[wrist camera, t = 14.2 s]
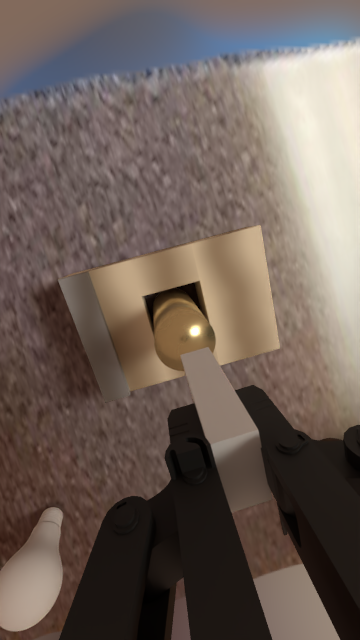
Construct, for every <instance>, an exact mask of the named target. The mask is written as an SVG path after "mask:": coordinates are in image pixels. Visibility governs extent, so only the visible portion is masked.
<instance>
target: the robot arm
mask: <svg viewBox="0 0 360 640" xmlns="http://www.w3.org/2000/svg"><path fill="white" fill-rule="evenodd" d="M180 356H181V360H182V363H183V367H184V370H185V374H186V378H187V381H188V385H189V389H190V392H191V396H192V399H193V403H194V404H190V405H187V406H183V407H180V408H177V409H173V410H171V412H170V415H169V417H168V427H169V435H170V443H171V444H170V445H169V447H168V448H167V450H166V453H165V461H166V464H167V467H168V470H169V473H170V476H171V480H170V482H169V484H168V485H167V486H166V487H165V488H164V490H162V491H161V492H160V493H158V494H157V495H156V496H154V497H152V498H151V499H149V500H148V501H146V500H145V499H143V498H142V497H138V496H131V497H127V498H124V499H122V500H120V501H119V502H117V503H116V504H115V505H114V506H113V507H112V508H111V509H110V510H109V511H108V512H107V514H106V516H105V518H104V520H103V521H102V524H101V527H100V530H99V532H98V535H97V538H96V540H95V543H94V546H93V549H92V551H91V554H90V557H89V559H88V562H87V565H86V568H85V570H84V573H83V576H82V578H81V581H80V584H79V587H78V589H77V592H76V595H75V597H74V600H73V603H72V606H71V608H70V611H69V614H68V616H67V619H66V622H65V625H64V627H63V630H62V633H61V636H60V638H59V640H171V634H172V624H173V623H172V622H173V613H174V603H175V593H176V583H177V582H178V581H179V580H180V579H181V578H183V577H184V585H185V594H186V601H187V611H188V619H189V627H190V636H191V640H272V637H271V634H270V631H269V628H268V625H267V622H266V619H265V616H264V612H263V609H262V606H261V603H260V600H259V597H258V594H257V591H256V588H255V585H254V581H253V578H252V575H251V572H250V569H249V566H248V563H247V560H246V557H245V553H244V550H243V547H242V544H241V541H240V538H239V535H238V532H237V529H236V526H235V522H234V519H233V516H232V512H235V511H239V510H242V509H245V508H248V507H251V506H254V505H258V504H261V503H264V502H267V501H270V500H272V495H271V491H272V493H273V495H274V497H275V499H276V501H277V505H278V510H279V515H280V520H281V525H282V530H283V533H284V535H287V531H288V534H289V536H290V538H291V540H292V542H293V544H294V546H295V548H296V550H297V552H298V554H299V556H300V558H301V560H302V562H303V564H304V566H305V568H306V570H307V572H308V574H309V576H310V579H311V580H312V582H313V585H314V587H315V589H316V591H317V593H318V595H319V597H320V599H321V601H322V603H323V605H324V607H325V609H326V611H327V613H328V615H329V617H330V619H331V621H332V624H333V625H334V628H335V629H336V632H337V634H338V636H339V638H340V640H360V425H356V426H354V427H351V428H349V429H348V430H347V431H346V432H345V433H344V438H343V440H341V441H317V440H312V439H311V438H310V437H309V436H307V435H306V434H305V433H303V432H301V431H298V430H295V429H294V428H293V427H292V426H291V425H290V423H289V422H288V421H287V420H286V418H285V417H284V416H283V415H282V413H281V412H280V411H279V410H278V408H277V407H276V406H275V405H274V403H273V402H272V401H271V400H270V399H269V397H268V396H267V395H266V393H265V392H264V391H263V390H262V389H260V388H258V387H256V386H254V385H251V386H248V387H245V388H241V389H238V390H234V389H233V387H232V385H231V384H230V382H229V380H228V379H227V377H226V375H225V374H224V372H223V370H222V369H221V367H220V365H219V364H218V362H217V361H216V359H215V357H214V356H213V354H212V352H211V351H210V349H209V347H206V348H203V349H199V350H196V351H192V352H189V353H185V354H182V355H180ZM270 489H271V490H270Z"/></svg>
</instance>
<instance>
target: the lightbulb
mask: <svg viewBox="0 0 360 640" xmlns="http://www.w3.org/2000/svg"><path fill="white" fill-rule="evenodd" d="M62 519H63V513H62V511H61V510H60V509H59V508H56V507H50V508H47V509H46V510H44V511H43V513H42V515H41V517H40V519H39V521H38V524H37V525H36V526H35V527H34V529H33V531H32V533H31V535H30V537H29V538H28V540H27V542H26V543H25V544H24V545H23V547H22V548H21V549H20V550H18V551H17V552H16V553H15V554H14V555H13V556H12V557H11V558H10V559H9V560H8V561H7V562H6V564H5V565H4V566H3V568H2V569H1V571H0V626H1V627H2V628H4V629H6V630H9V631H22V630H26V629H28V628H30V627H32V626H34V625H35V624H37V623H38V622H39V621H40V620H41V619H43V618H44V617H45V615H46V614H47V613H48V612H49V611H50V609H51V608H52V606H53V605H54V603H55V601H56V599H57V597H58V594H59V592H60V589H61V585H62V579H63V569H62V563H61V558H60V554H59V539H60V535H61V529H60V528H61V524H62Z"/></svg>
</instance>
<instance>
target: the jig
mask: <svg viewBox="0 0 360 640" xmlns="http://www.w3.org/2000/svg"><path fill="white" fill-rule="evenodd" d="M58 282H59V284H60V287H61V289H62V292H63V294H64V297H65V300H66V302H67V305H68V307H69V310H70V313H71V315H72V318H73V320H74V323H75V326H76V328H77V331H78V333H79V336H80V339H81V341H82V344H83V346H84V349H85V351H86V354H87V357H88V359H89V362H90V364H91V367H92V370H93V372H94V375H95V377H96V380H97V383H98V385H99V388H100V390H101V393H102V395H103V398H104V401H105V403H106V402H110V401H113V400H117V399H120V398H124V397H127V396H130V391H133V390H137V389H140V388H144V387H147V386H151V385H154V384H158V383H161V382H164V381H168V380H171V379H175V378H178V377H182V376H185V375H186V374H185V371H177V370H173V369H171V368H169V367H167V366H166V365H164V364H163V363H162V362H161V360H160V359H159V358H158V356H157V354H156V351H155V345H154V327H153V324H152V320H151V317H150V314H149V310H148V307H147V303H146V300H145V297H144V296H146V295H149V294H153V293H157V292H160V291H164V290H167V289H171V288H175V287H178V286H182V285H186V284H189V283H193V282H194V283H195V287H196V291H197V295H198V300H199V304H200V308H201V312H202V314H203V315H204V317H205V318H206V319H207V321H208V322H209V323H210V325H211V326H212V328H213V330H214V333H215V337H216V345H215V349H214V352H213V356H214V357H215V359H216V361H217V362H218V364H219V365H224V364H227V363H230V362H234V361H237V360H241V359H244V358H248V357H251V356H255V355H258V354H262V353H265V352H269V351H272V350H276V349H279V348H280V345H279V339H278V332H277V326H276V320H275V314H274V307H273V301H272V295H271V288H270V282H269V276H268V269H267V263H266V257H265V250H264V244H263V238H262V231H261V225H258V226H251V227H245V228H241V229H237V230H234V231H230V232H226V233H222V234H219V235H215V236H211V237H207V238H204V239H200V240H196V241H193V242H189V243H185V244H181V245H178V246H174V247H170V248H166V249H163V250H159V251H155V252H151V253H148V254H144V255H140V256H136V257H133V258H129V259H125V260H122V261H118V262H114V263H110V264H107V265H103V266H99V267H95V268H92V269H88V270H84V271H80V272H77V273H73V274H70V275H67V276H65V277H63V278H60V279H59V280H58Z"/></svg>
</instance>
